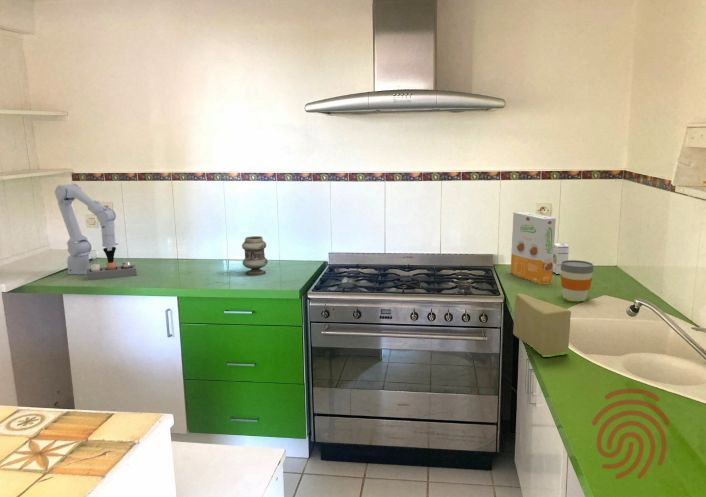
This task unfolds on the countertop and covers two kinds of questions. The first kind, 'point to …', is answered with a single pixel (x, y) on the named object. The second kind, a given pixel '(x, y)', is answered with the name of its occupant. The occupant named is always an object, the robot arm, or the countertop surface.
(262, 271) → the apothecary jar
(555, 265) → the syrup box
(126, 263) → the steel plunger
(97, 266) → the ivory plunger
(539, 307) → the cheese
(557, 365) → the countertop surface
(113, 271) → the button panel
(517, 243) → the cereal box
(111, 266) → the brick-red plunger
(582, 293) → the reusable coffee cup
